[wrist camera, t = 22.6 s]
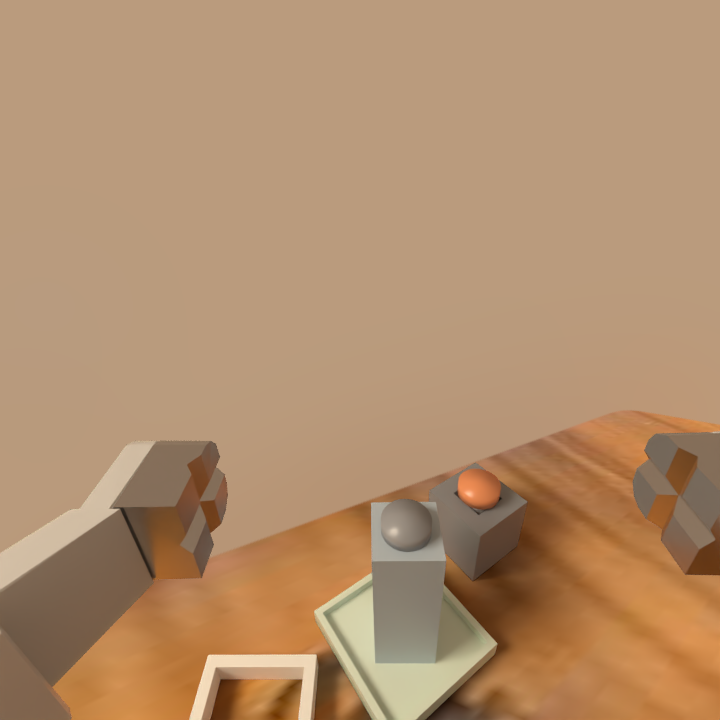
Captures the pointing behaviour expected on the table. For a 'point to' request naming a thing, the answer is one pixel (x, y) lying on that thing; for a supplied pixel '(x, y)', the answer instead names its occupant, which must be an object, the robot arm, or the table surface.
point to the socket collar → (257, 669)
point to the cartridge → (406, 580)
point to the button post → (477, 526)
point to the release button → (479, 489)
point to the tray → (402, 680)
